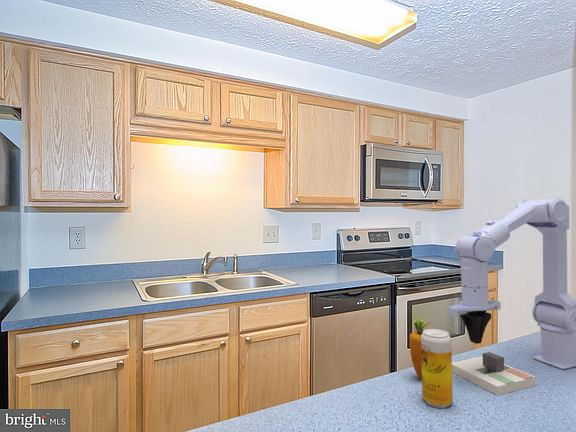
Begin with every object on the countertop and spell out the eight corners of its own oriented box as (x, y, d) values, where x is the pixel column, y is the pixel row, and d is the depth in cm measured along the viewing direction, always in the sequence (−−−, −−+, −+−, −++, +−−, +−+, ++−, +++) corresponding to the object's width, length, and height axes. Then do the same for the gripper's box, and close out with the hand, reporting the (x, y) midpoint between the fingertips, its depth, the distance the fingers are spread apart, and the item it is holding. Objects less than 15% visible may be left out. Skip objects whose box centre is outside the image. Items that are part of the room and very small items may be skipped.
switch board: (484, 363, 98) (484, 354, 98) (535, 385, 85) (535, 376, 85) (449, 370, 94) (449, 362, 94) (497, 395, 81) (497, 385, 81)
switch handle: (490, 371, 92) (489, 352, 92) (504, 377, 89) (503, 357, 89) (482, 372, 92) (482, 353, 92) (497, 379, 88) (496, 359, 88)
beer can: (416, 398, 81) (414, 330, 81) (438, 392, 83) (436, 326, 83) (436, 411, 75) (434, 339, 75) (459, 405, 77) (457, 334, 77)
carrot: (412, 373, 93) (411, 314, 93) (433, 377, 91) (431, 317, 91) (408, 381, 89) (406, 319, 89) (429, 385, 87) (428, 322, 86)
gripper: (483, 280, 94) (484, 333, 94) (438, 285, 89) (439, 341, 89) (507, 285, 88) (509, 341, 88) (461, 291, 83) (462, 351, 83)
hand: (475, 342), depth 88 cm, fingers closed
